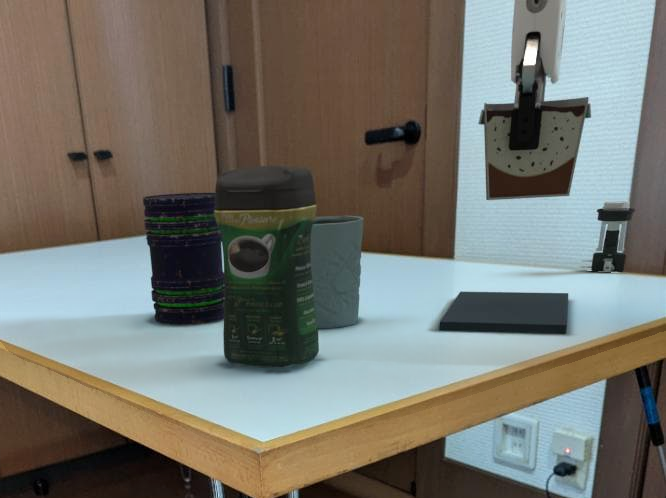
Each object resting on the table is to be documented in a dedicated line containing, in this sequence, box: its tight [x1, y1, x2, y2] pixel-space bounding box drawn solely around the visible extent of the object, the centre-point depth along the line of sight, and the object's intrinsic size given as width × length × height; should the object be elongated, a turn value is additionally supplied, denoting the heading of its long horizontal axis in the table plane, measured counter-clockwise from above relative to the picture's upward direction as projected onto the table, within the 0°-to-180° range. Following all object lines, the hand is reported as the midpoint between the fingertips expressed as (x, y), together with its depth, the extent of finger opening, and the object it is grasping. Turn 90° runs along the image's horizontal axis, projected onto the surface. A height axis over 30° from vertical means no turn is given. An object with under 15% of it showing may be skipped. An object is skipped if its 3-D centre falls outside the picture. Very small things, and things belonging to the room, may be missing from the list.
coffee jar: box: [214, 165, 320, 369], centre depth 80 cm, size 10×8×19 cm
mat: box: [438, 291, 569, 335], centre depth 99 cm, size 14×20×1 cm
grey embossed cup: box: [310, 215, 365, 330], centre depth 98 cm, size 10×10×12 cm
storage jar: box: [142, 192, 224, 326], centre depth 103 cm, size 10×10×15 cm
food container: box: [477, 96, 592, 201], centre depth 93 cm, size 12×6×10 cm, turn 89°
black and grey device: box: [579, 200, 636, 273], centre depth 124 cm, size 7×5×10 cm
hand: (525, 147), depth 93 cm, fingers closed on food container, 7 cm apart
